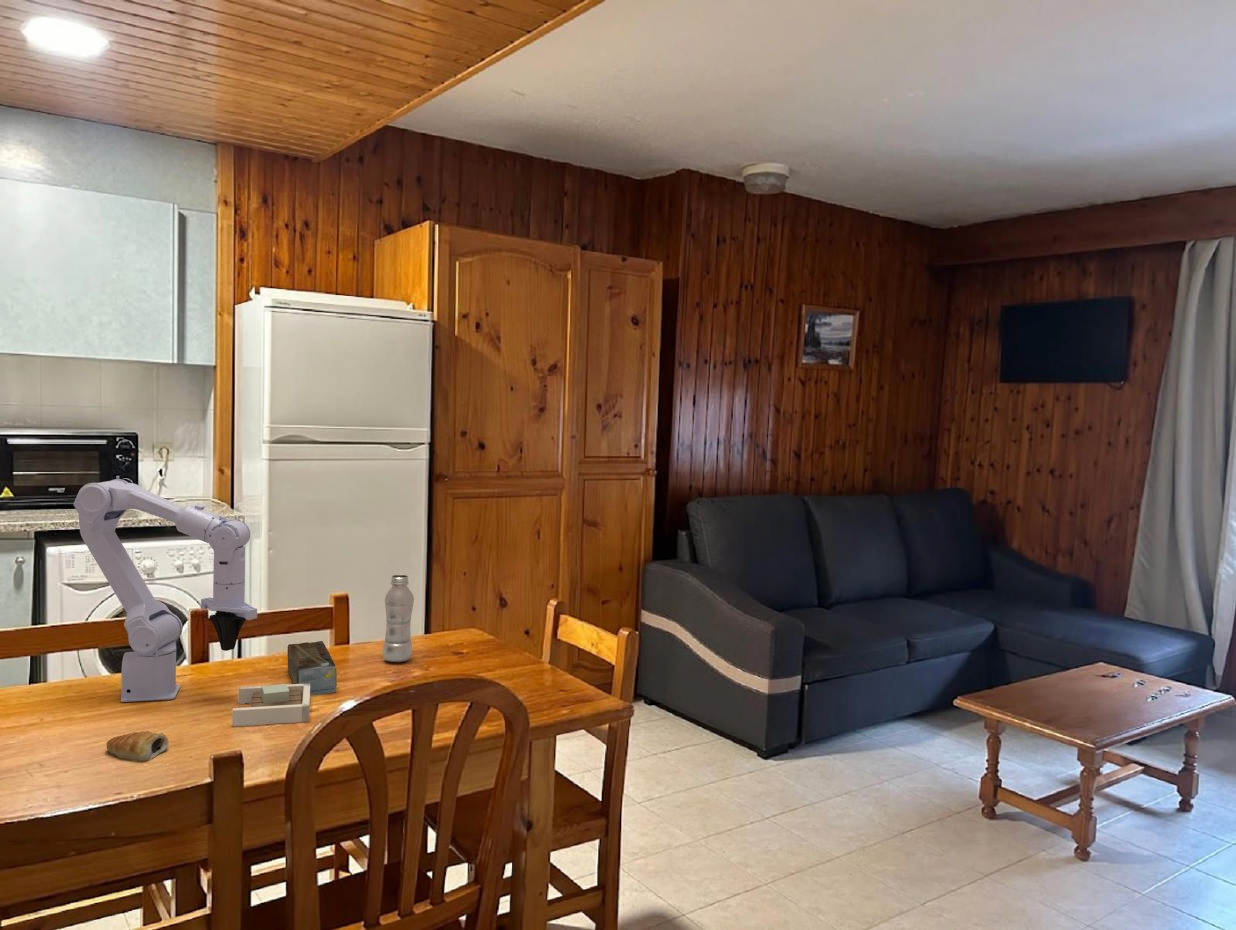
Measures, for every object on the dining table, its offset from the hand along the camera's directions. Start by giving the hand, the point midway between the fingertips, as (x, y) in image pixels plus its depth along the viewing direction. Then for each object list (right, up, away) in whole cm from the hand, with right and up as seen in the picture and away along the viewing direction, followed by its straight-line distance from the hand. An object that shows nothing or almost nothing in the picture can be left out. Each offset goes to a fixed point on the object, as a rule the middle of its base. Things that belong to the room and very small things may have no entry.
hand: (227, 649), depth 176 cm
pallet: (+11, -11, -5) cm, 17 cm away
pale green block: (+11, -9, -5) cm, 15 cm away
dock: (+11, -11, -6) cm, 16 cm away
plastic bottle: (+26, -9, +30) cm, 41 cm away
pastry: (-3, -12, -27) cm, 30 cm away
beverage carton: (+12, -10, +13) cm, 20 cm away
